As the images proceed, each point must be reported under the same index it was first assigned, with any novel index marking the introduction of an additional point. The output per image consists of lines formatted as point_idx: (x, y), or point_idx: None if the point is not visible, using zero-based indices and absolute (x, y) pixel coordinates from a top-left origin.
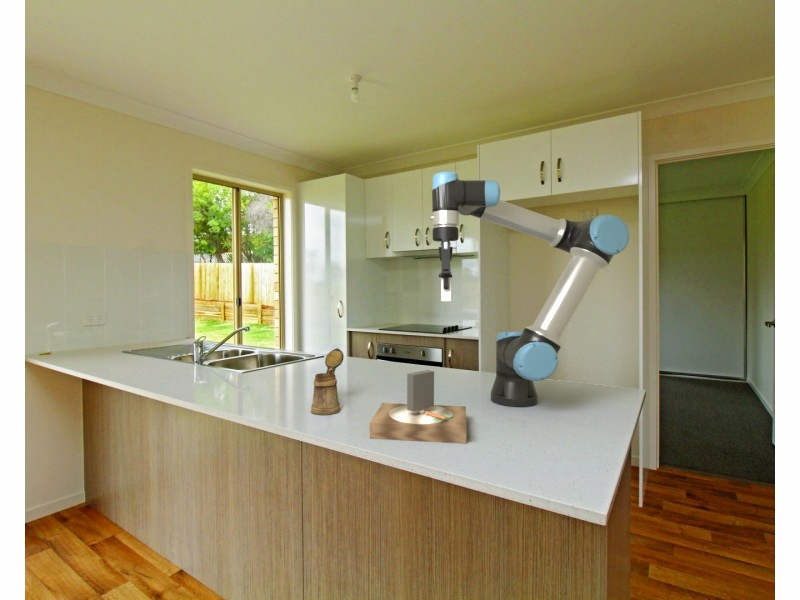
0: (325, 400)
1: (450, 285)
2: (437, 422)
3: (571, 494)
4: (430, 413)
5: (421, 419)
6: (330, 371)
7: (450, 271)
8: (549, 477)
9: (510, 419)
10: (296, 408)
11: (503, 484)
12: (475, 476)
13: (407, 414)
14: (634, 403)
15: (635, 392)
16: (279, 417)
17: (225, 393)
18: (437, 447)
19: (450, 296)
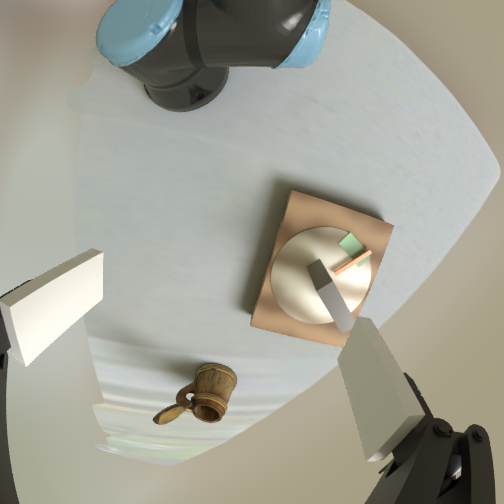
0: (231, 391)
1: (401, 376)
2: (370, 262)
3: (486, 174)
4: (346, 269)
5: (352, 282)
6: (192, 409)
7: (483, 439)
8: (465, 172)
9: (294, 113)
10: None
11: (468, 222)
12: (453, 241)
13: None
14: None
15: None
16: (239, 415)
17: (149, 443)
18: (387, 261)
19: (377, 334)
